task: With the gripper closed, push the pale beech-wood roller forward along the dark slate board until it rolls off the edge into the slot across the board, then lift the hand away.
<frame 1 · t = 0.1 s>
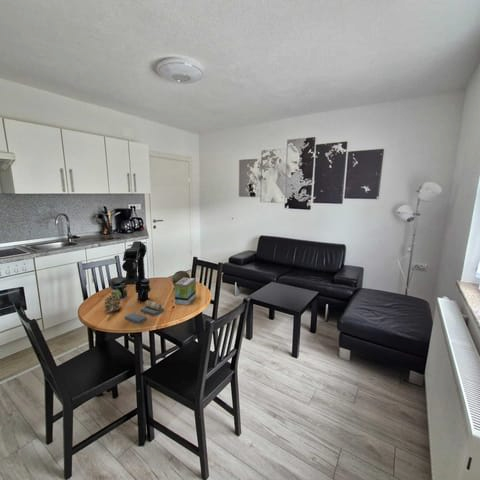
hand: (132, 298, 145), 15 cm above the table, tool pointing down, fingers open, 9 cm apart
slate board: (145, 315, 158), on the table
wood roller: (152, 305, 163), point 4 cm above the table, touching slate board
pine cone: (112, 312, 161), on the table
tea box: (185, 300, 181), on the table
coffee can: (119, 297, 184), on the table
cantaloupe: (181, 289, 202), on the table
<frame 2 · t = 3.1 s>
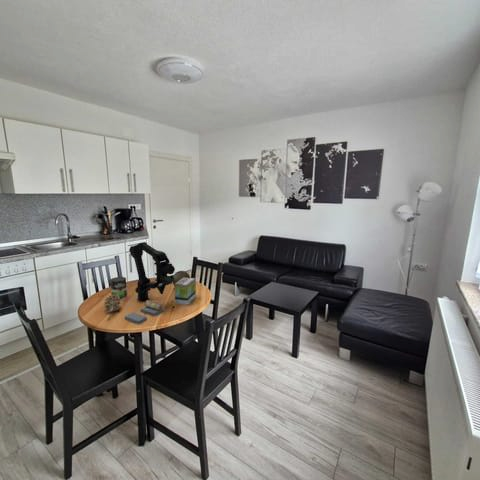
hand: (161, 294, 169), 9 cm above the table, tool pointing down, fingers closed
nothing on the table moved.
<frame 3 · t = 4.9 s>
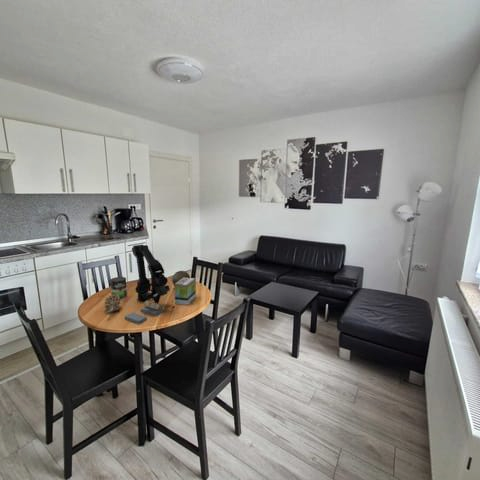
hand: (157, 304, 166), 3 cm above the table, tool pointing down, fingers closed
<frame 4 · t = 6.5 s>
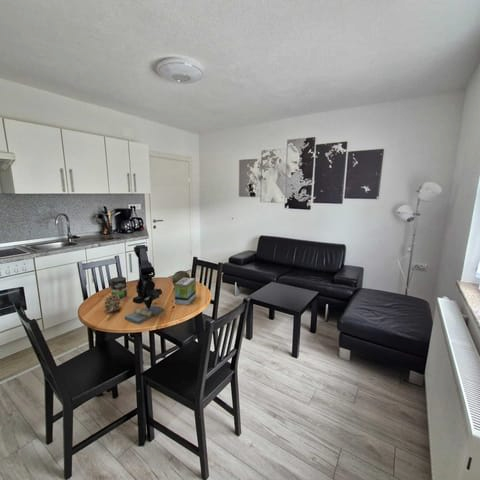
hand: (148, 308, 160), 3 cm above the table, tool pointing down, fingers closed
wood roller: (143, 313, 157), point 2 cm above the table, tilted 18°
everything else where it was.
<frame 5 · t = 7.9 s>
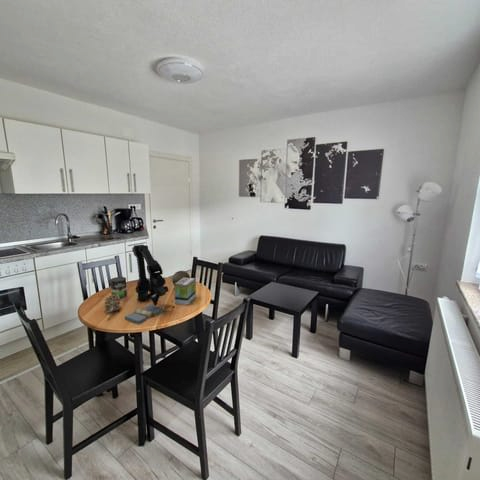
hand: (155, 305, 165), 3 cm above the table, tool pointing down, fingers closed
nothing on the table moved.
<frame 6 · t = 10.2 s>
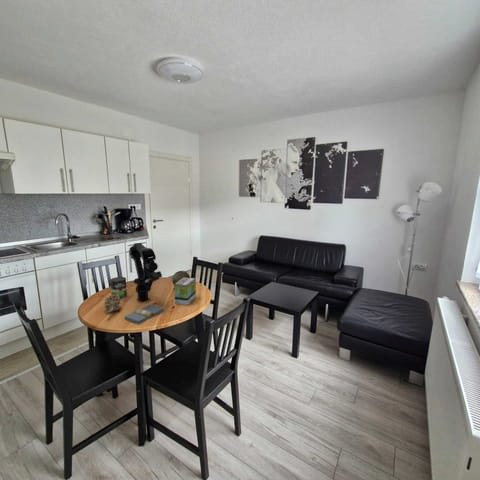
hand: (149, 290, 169), 11 cm above the table, tool pointing down, fingers closed
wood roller: (143, 313, 156), point 2 cm above the table, tilted 10°
everything else where it was.
at the end: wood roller inside the target area on the slate board (0.4 cm from its centre), point 1.8 cm above the slate board's base; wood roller moved 8.2 cm from its start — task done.
